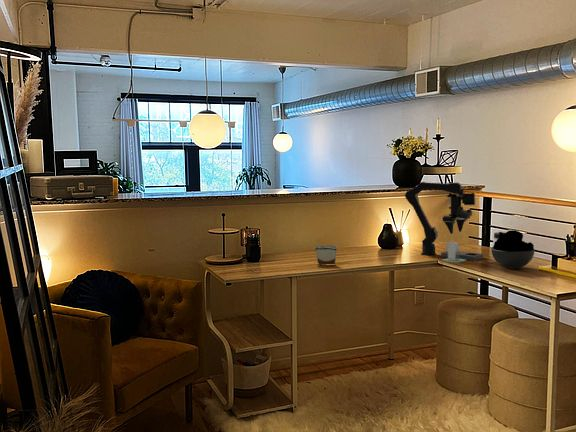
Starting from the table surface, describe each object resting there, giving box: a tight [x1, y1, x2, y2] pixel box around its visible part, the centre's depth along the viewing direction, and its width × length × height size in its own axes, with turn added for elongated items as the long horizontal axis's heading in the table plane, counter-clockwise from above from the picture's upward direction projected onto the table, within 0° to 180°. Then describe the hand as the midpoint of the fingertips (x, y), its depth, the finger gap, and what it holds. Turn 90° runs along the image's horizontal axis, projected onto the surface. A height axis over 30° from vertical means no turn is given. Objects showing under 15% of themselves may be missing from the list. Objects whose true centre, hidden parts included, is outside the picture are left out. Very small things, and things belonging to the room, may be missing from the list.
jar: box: [492, 231, 506, 247], centre depth 317 cm, size 9×8×12 cm
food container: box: [314, 244, 338, 265], centre depth 304 cm, size 12×6×10 cm, turn 71°
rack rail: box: [440, 250, 484, 262], centre depth 311 cm, size 20×10×2 cm, turn 43°
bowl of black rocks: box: [490, 229, 536, 270], centre depth 278 cm, size 20×20×19 cm
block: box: [445, 241, 459, 253], centre depth 315 cm, size 4×4×8 cm
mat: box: [441, 258, 467, 264], centre depth 304 cm, size 10×8×1 cm
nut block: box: [448, 244, 461, 261], centre depth 303 cm, size 4×4×8 cm
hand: (455, 232), depth 317 cm, fingers open, 9 cm apart
